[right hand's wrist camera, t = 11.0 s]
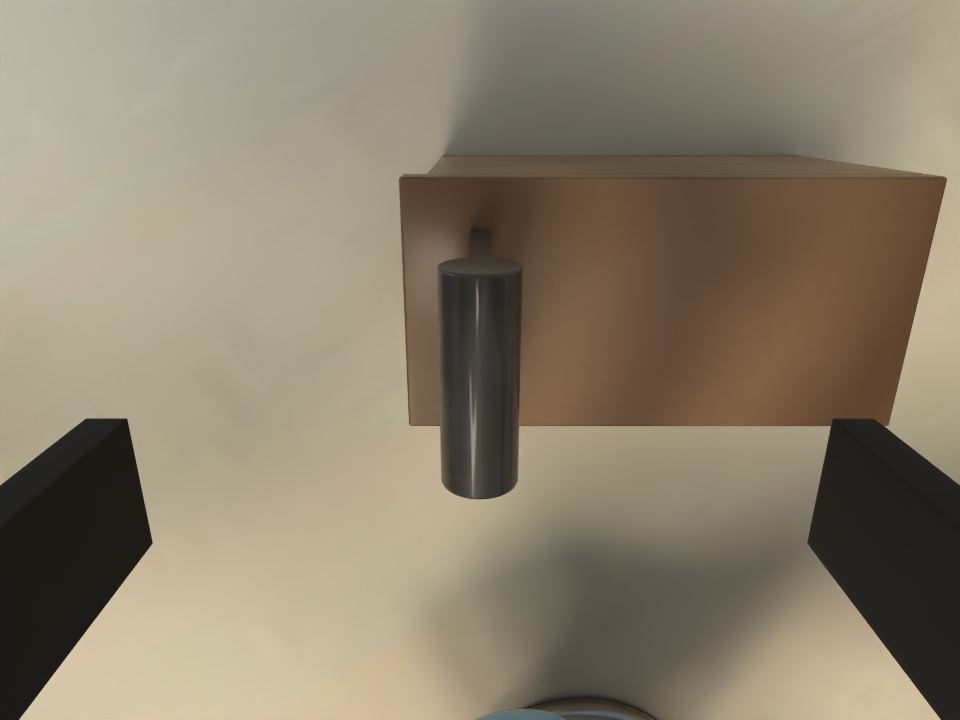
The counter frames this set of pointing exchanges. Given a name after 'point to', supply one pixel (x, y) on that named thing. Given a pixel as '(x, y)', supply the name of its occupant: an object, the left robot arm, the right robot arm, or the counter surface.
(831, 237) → the brown handled panel
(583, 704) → the left robot arm
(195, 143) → the counter surface
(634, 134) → the counter surface
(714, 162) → the chest
